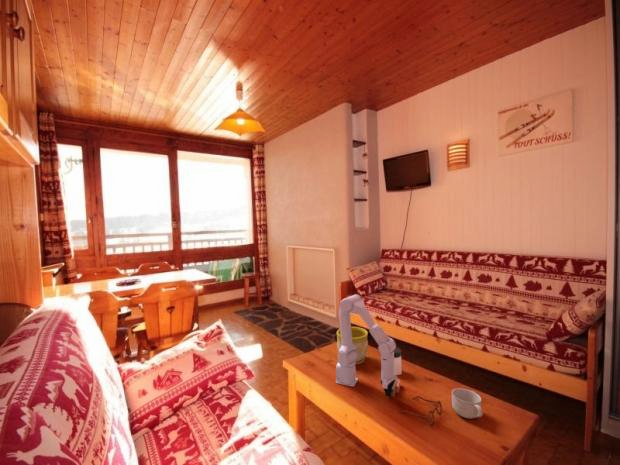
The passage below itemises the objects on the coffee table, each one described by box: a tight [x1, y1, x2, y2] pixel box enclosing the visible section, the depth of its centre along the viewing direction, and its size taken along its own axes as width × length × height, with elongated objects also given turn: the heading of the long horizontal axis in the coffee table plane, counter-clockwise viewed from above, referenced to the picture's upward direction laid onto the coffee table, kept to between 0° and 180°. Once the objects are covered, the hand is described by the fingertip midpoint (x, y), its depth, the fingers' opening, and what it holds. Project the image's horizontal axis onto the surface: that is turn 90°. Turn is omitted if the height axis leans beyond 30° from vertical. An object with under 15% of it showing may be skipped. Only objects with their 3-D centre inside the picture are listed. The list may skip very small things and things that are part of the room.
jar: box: [394, 346, 403, 377], centre depth 156 cm, size 9×8×12 cm
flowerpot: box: [336, 326, 369, 366], centre depth 171 cm, size 18×18×16 cm
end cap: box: [383, 378, 401, 394], centre depth 141 cm, size 7×7×3 cm
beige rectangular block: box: [390, 380, 397, 398], centre depth 138 cm, size 3×9×4 cm, turn 154°
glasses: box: [398, 395, 443, 426], centre depth 123 cm, size 13×13×5 cm
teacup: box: [451, 387, 484, 420], centre depth 119 cm, size 14×11×8 cm
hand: (388, 395), depth 133 cm, fingers closed
